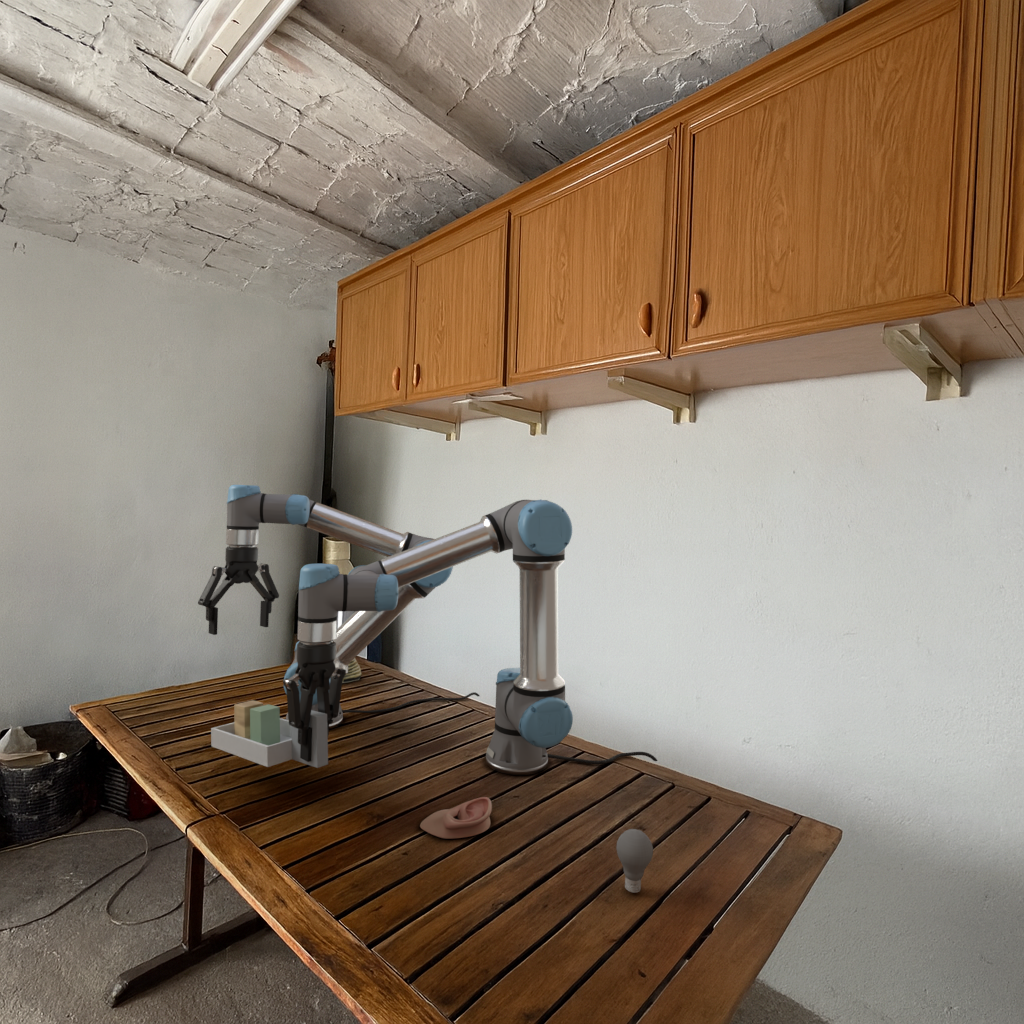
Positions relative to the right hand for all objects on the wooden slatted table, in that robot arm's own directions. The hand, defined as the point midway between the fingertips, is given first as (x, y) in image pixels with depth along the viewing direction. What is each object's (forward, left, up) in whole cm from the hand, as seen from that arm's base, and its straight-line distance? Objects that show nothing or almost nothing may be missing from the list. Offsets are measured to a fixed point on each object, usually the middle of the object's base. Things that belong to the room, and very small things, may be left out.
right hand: (312, 756), depth 128 cm
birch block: (+10, -22, -3) cm, 24 cm away
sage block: (+7, -16, -2) cm, 18 cm away
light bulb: (-44, +48, -11) cm, 66 cm away
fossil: (-22, -87, -11) cm, 91 cm away
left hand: (+11, -42, +18) cm, 47 cm away
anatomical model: (-25, +17, -11) cm, 32 cm away
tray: (+5, -11, -2) cm, 13 cm away
